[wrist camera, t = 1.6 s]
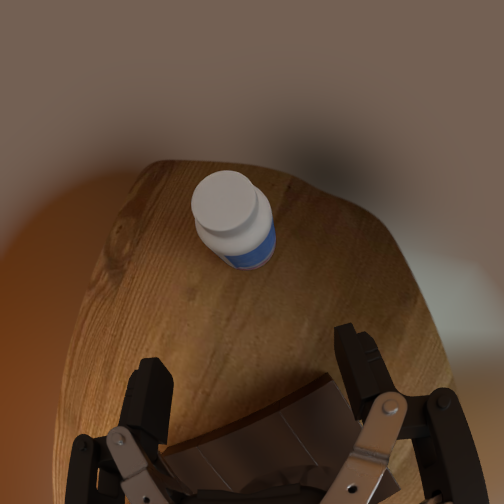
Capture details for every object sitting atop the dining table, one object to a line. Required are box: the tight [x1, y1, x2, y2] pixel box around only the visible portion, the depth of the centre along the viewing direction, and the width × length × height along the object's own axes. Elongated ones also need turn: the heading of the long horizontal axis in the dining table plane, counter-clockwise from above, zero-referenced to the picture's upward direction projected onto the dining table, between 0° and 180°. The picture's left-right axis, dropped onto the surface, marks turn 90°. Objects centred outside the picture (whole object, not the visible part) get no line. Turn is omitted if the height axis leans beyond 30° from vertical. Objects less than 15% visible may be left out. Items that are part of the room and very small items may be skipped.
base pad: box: [162, 373, 401, 504], centre depth 18 cm, size 18×17×3 cm
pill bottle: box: [191, 171, 276, 270], centre depth 21 cm, size 6×5×10 cm
